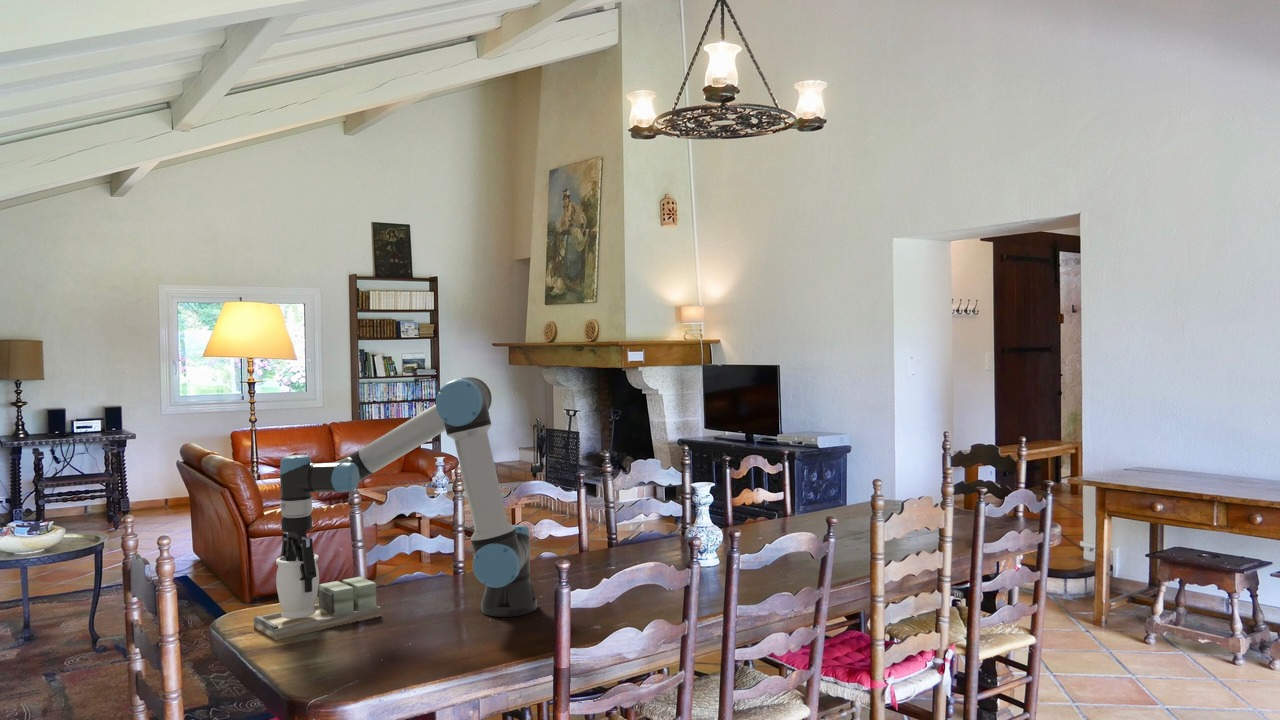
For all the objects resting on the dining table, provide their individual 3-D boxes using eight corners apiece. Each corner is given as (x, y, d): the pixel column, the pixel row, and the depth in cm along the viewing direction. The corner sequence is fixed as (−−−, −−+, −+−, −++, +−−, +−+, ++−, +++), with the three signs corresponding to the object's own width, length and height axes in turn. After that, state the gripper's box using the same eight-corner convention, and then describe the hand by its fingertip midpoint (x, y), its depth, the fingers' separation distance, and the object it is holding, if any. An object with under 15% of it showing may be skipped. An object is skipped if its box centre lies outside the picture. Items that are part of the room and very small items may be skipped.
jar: (305, 621, 231) (303, 562, 231) (268, 620, 233) (267, 561, 233) (327, 609, 241) (326, 553, 241) (292, 608, 243) (291, 552, 243)
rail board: (380, 616, 245) (380, 584, 245) (276, 640, 226) (275, 605, 226) (355, 605, 256) (355, 575, 256) (253, 627, 237) (253, 594, 237)
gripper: (265, 511, 243) (267, 594, 243) (299, 522, 226) (302, 612, 226) (293, 508, 248) (295, 589, 248) (329, 518, 231) (331, 605, 231)
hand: (298, 600), depth 237 cm, fingers closed on jar, 10 cm apart
